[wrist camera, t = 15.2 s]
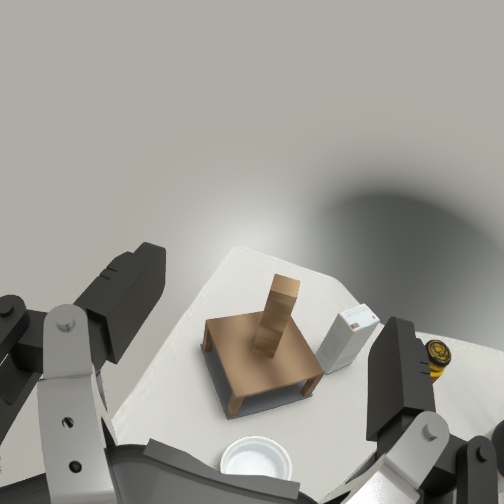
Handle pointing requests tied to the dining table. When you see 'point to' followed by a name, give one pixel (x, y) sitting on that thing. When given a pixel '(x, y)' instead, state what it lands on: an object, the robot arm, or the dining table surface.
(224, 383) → the mat
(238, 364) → the wooden stool with post
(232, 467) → the ramekin
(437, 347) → the condiment
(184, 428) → the dining table surface
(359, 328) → the skincare box
